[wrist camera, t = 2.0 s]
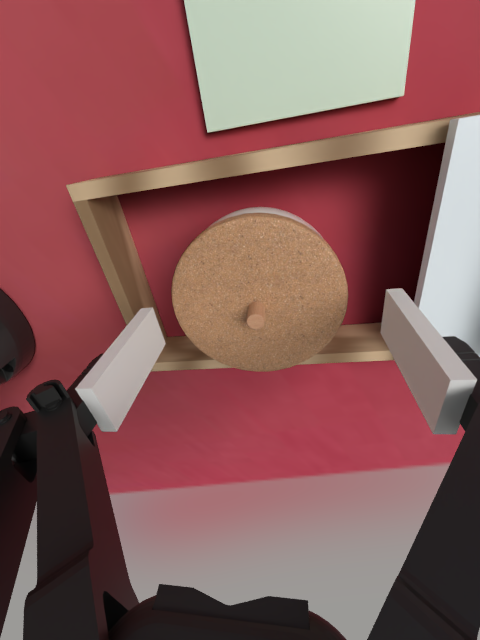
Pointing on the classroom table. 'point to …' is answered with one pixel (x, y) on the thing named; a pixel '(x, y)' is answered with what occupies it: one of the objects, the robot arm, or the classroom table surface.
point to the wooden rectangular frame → (107, 215)
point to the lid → (455, 239)
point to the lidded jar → (259, 290)
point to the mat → (296, 56)
